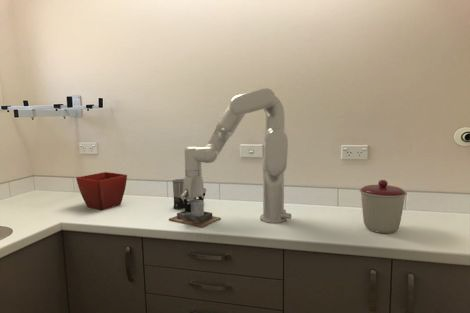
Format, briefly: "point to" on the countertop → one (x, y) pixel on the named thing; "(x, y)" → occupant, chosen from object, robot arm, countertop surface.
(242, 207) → the countertop surface
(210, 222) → the holder
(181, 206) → the milk frother
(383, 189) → the canister
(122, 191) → the plant pot
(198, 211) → the medicine box
